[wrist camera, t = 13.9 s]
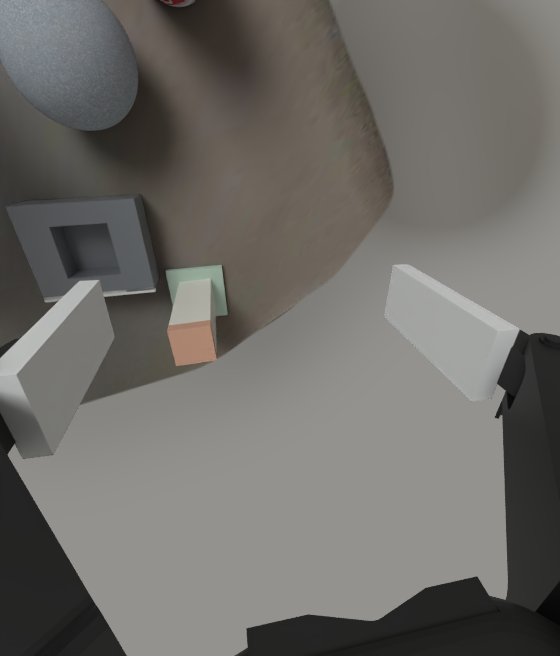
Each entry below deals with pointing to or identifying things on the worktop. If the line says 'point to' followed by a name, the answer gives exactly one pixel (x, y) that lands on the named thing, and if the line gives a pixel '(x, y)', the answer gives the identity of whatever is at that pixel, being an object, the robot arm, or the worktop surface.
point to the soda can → (178, 2)
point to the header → (87, 244)
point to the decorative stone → (69, 60)
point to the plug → (193, 323)
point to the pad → (199, 274)
